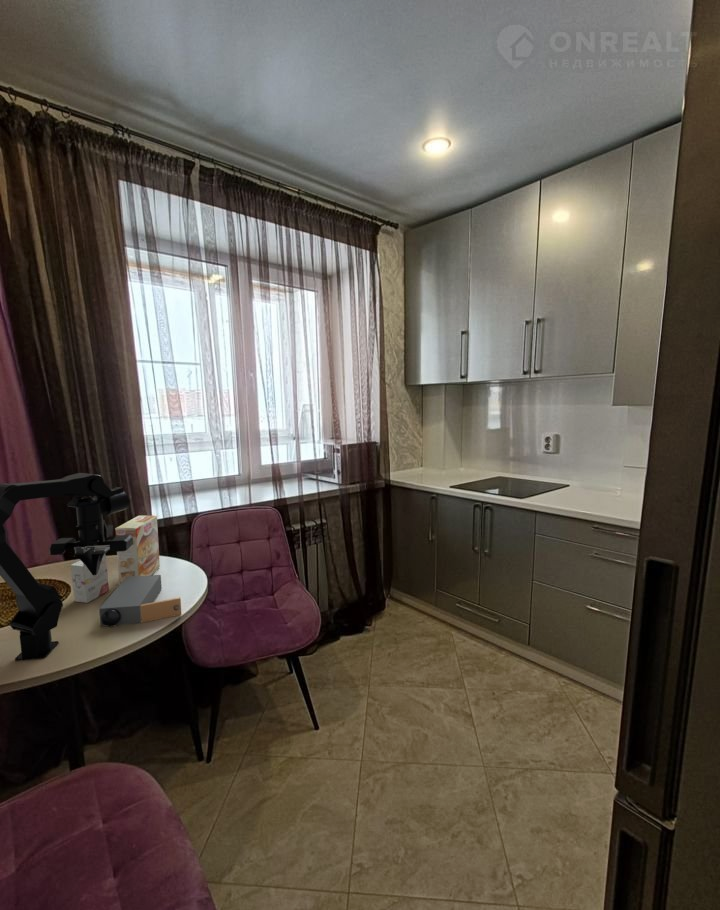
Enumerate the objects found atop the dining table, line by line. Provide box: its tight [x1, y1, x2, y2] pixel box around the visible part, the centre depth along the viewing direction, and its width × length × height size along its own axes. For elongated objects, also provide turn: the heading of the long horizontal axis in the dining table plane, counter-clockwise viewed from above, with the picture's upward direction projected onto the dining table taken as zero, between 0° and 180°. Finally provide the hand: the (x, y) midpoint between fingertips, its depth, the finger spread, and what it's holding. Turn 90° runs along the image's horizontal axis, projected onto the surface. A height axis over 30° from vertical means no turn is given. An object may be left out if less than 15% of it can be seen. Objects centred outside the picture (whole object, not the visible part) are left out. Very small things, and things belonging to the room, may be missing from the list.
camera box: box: [98, 574, 163, 627], centre depth 122 cm, size 21×10×5 cm, turn 10°
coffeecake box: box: [114, 515, 161, 586], centre depth 142 cm, size 15×7×20 cm, turn 1°
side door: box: [141, 596, 182, 623], centre depth 116 cm, size 10×2×5 cm, turn 116°
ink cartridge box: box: [70, 550, 110, 604], centre depth 128 cm, size 9×5×15 cm, turn 168°
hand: (95, 574), depth 114 cm, fingers closed
